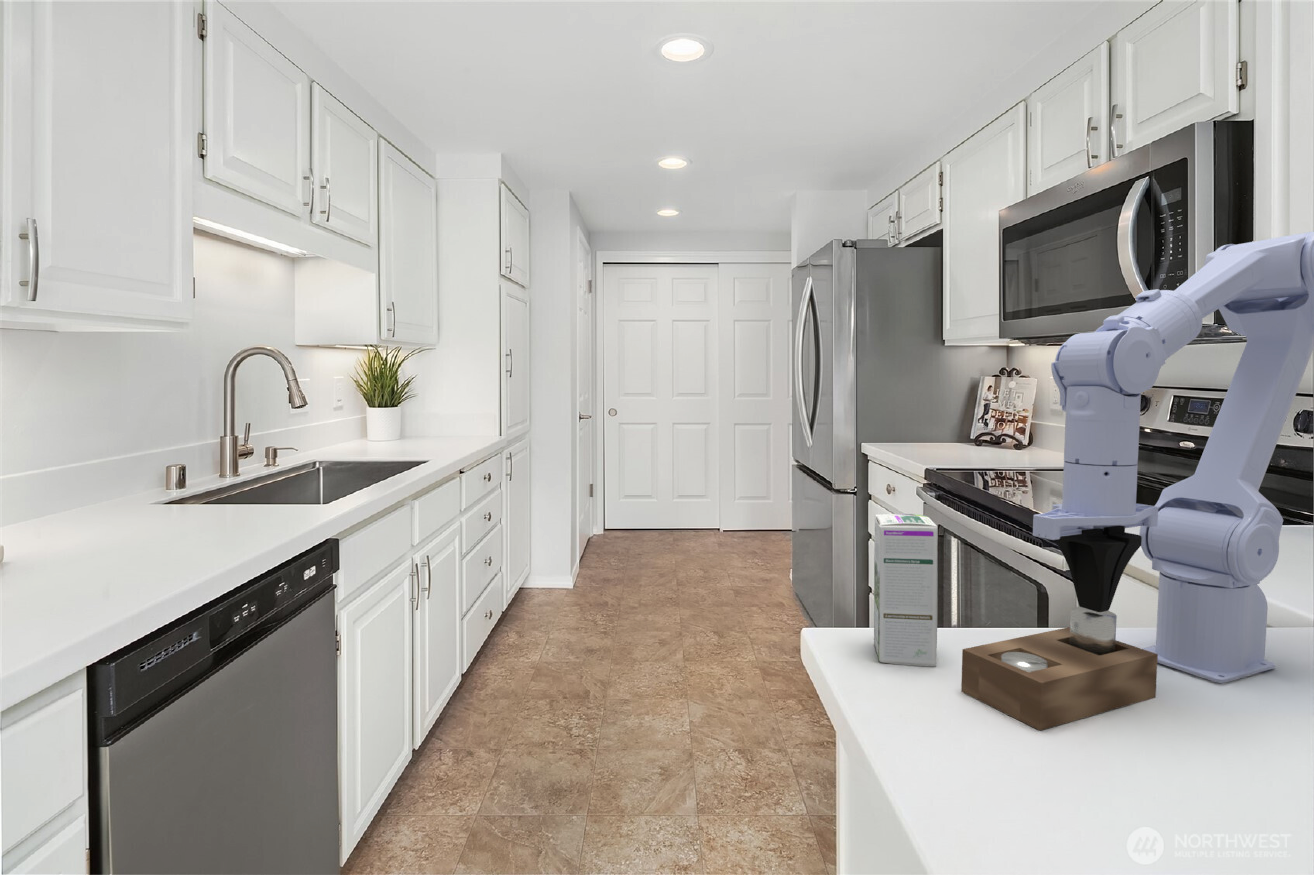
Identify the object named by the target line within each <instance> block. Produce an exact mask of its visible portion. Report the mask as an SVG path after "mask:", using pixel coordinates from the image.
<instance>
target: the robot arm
mask: <svg viewBox="0 0 1314 875" xmlns="http://www.w3.org/2000/svg"><path fill="white" fill-rule="evenodd" d="M1135 301H1136V302H1135V303H1133V304H1132V305H1131V306H1129V307H1128V308H1126V309H1125V310H1122V312H1120V313H1119V314H1117V315H1116V314H1114V315H1110V316H1108V317H1107V318H1105V319H1104V320H1103V322H1102V323H1103V324H1102V325H1101V326H1099V327H1098V328H1097V329H1096V330H1094V331H1093V332H1081V333H1080V332H1079V333H1075V334H1074V335H1072V336H1070V337H1069V338H1068V339H1067V340H1066V341H1065V342H1064V343H1062V344H1061V346H1060V347H1059V348H1058V350H1057V352H1056V355H1055V359H1054V361H1053V362H1051V365H1050V366H1051V373H1052V374H1051V375H1052V378H1053V381H1054V384H1055V385H1056V387H1057V389H1058V392H1059V406H1061V410H1062V412H1064V413H1065V421H1064V422H1065V423H1064V425H1065V426H1064V444H1063V445H1064V448H1063V449H1064V452H1063V476H1062V477H1063V478H1062V498H1061V499H1062V501H1061V502H1062V503H1056V504H1054V503H1053V504H1052V507H1051V508H1052V509H1051V510H1048V511H1046V512H1042V513H1037V514H1033V515H1032V516H1033V517H1032V518H1033V519H1032V536H1033V537H1036V538H1037V537H1038V538H1041V539H1046V540H1050V541H1051V540H1052V541H1055V543H1056V545H1057V546H1058V548H1059V550H1060V552H1061V553H1062V555H1063V557H1064V559H1065V560H1064V561H1066V564H1067V567H1068V570H1069V573H1070V575H1071V579H1072V584H1073V588H1074V591H1075V595H1076V599H1077V603H1078V607H1083V608H1086V609H1089V610H1093V611H1096V612H1104V611H1110V608H1111V606H1112V603H1113V600H1114V597H1115V595H1116V591H1117V588H1118V586H1119V584H1120V580H1121V577H1122V575H1123V574H1124V571H1125V570H1126V567H1127V566H1128V564H1129V562H1130V561H1131V559H1132V558H1133V556H1134V555H1135V553H1136V552H1138V550H1139V549H1140V548H1141V550H1142V553H1143V554H1144V556H1145V557H1146V558H1147V559H1148V560H1149V561H1151V570H1153V571H1156V572H1159V574H1158V575H1159V576H1158V591H1157V592H1158V594H1157V611H1156V612H1157V615H1156V616H1157V617H1156V618H1157V619H1156V635H1155V645H1152V646H1148V647H1143V648H1142V649H1144V650H1147V651H1150V652H1153V653H1156V654H1158V659H1157V664H1161V665H1164V666H1167V667H1169V668H1173V669H1176V670H1179V671H1181V672H1183V673H1184V672H1185V673H1187V674H1191V675H1193V676H1196V677H1200V678H1203V679H1204V680H1205V679H1206V680H1208V681H1211V682H1214V683H1217V684H1225V683H1228V682H1231V681H1235V680H1238V679H1241V678H1242V679H1243V678H1245V677H1249V676H1251V675H1252V676H1253V675H1256V674H1259V673H1263V672H1266V671H1270V670H1272V669H1276V663H1275V662H1273V661H1270V660H1268V659H1267V660H1266V659H1265V657H1266V642H1267V640H1266V639H1267V626H1268V625H1267V624H1268V623H1267V622H1268V610H1269V608H1268V607H1269V606H1268V600H1267V598H1266V597H1267V596H1266V595H1265V593H1264V592H1263V590H1262V589H1261V587H1260V586H1259V584H1261V582H1262V581H1263V580H1264V579H1265V578H1266V577H1268V576H1269V575H1270V574H1271V573H1272V572H1273V570H1274V568H1275V566H1276V564H1277V562H1278V559H1279V554H1280V536H1281V530H1282V527H1283V522H1284V519H1283V516H1282V514H1281V512H1280V511H1279V510H1278V509H1277V507H1276V506H1275V505H1274V504H1273V503H1272V502H1270V500H1268V499H1267V498H1266V497H1265V496H1264V495H1263V494H1262V493H1261V492H1260V491H1259V490H1260V487H1261V486H1262V485H1261V484H1262V483H1263V481H1264V477H1265V475H1266V472H1267V469H1268V467H1269V464H1270V461H1271V459H1272V457H1273V455H1274V451H1275V448H1276V446H1277V444H1278V441H1279V440H1280V437H1281V436H1280V435H1281V434H1282V431H1283V428H1284V425H1285V423H1286V421H1287V418H1288V415H1289V413H1290V410H1291V408H1292V405H1293V403H1294V399H1295V397H1296V395H1297V393H1298V390H1299V387H1300V384H1301V382H1302V379H1303V377H1304V374H1305V372H1306V369H1307V367H1308V364H1309V361H1310V359H1311V356H1312V353H1313V351H1314V231H1313V230H1312V231H1308V232H1302V233H1295V234H1290V235H1285V236H1278V237H1273V238H1267V239H1261V240H1256V241H1249V242H1244V243H1238V244H1234V243H1229V244H1224V245H1221V246H1219V247H1217V249H1216V250H1215V251H1212V252H1209V253H1208V254H1206V256H1205V260H1204V263H1203V266H1202V267H1201V268H1200V269H1199V270H1197V271H1196V272H1195V273H1194V274H1193V275H1192V276H1190V277H1189V278H1188V279H1187V280H1186V281H1184V282H1183V283H1181V285H1179V286H1178V287H1177V288H1176V289H1174V290H1171V289H1170V290H1169V289H1161V290H1160V289H1159V288H1157V289H1150V290H1149V289H1148V290H1143V291H1142V292H1140V293H1138V294H1137V295H1136V296H1135ZM1217 310H1219V312H1220V315H1221V316H1222V318H1223V320H1224V321H1225V324H1226V326H1227V328H1228V330H1230V331H1232V332H1234V333H1237V334H1240V336H1241V335H1242V336H1244V337H1245V338H1246V344H1245V346H1244V349H1243V351H1242V353H1241V356H1240V359H1239V361H1238V364H1237V366H1236V369H1235V371H1234V373H1233V376H1232V379H1231V381H1230V384H1229V386H1228V389H1227V391H1226V394H1225V397H1224V399H1223V401H1222V404H1221V406H1220V409H1219V412H1218V415H1217V416H1216V419H1215V421H1214V424H1213V426H1212V429H1211V432H1210V434H1209V436H1208V439H1207V441H1206V444H1205V446H1204V449H1203V452H1202V455H1201V457H1200V459H1199V462H1198V464H1197V466H1196V469H1195V472H1194V474H1193V475H1191V476H1189V477H1187V478H1185V479H1182V480H1180V481H1177V482H1176V483H1174V484H1171V485H1169V486H1167V487H1165V488H1163V489H1162V491H1161V493H1160V496H1159V498H1158V500H1157V502H1156V503H1155V505H1150V504H1149V505H1148V504H1143V503H1137V490H1138V466H1139V465H1138V464H1139V463H1138V462H1139V444H1140V442H1139V440H1140V426H1141V425H1140V423H1141V422H1140V420H1141V401H1142V400H1141V399H1142V393H1144V392H1146V391H1150V390H1151V389H1152V388H1153V386H1154V385H1155V383H1156V382H1157V379H1158V376H1159V375H1160V374H1159V373H1160V370H1161V368H1162V367H1163V366H1164V365H1165V364H1166V361H1167V360H1168V359H1169V358H1170V357H1171V356H1172V355H1175V353H1177V352H1179V351H1180V350H1181V349H1183V348H1184V347H1185V346H1187V345H1188V344H1190V343H1191V342H1193V341H1194V340H1195V339H1196V338H1197V337H1198V336H1199V335H1200V334H1201V333H1200V332H1201V330H1202V328H1203V319H1204V318H1206V317H1208V316H1209V315H1211V314H1212V313H1214V312H1215V311H1217ZM1137 527H1140V528H1139V534H1136V533H1131V532H1126V529H1130V528H1137Z"/></svg>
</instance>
